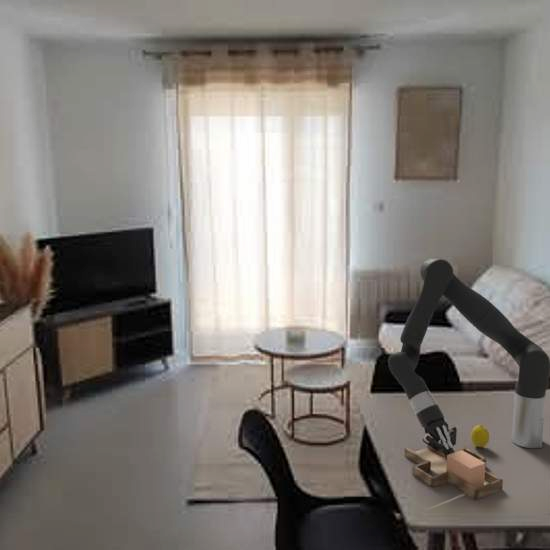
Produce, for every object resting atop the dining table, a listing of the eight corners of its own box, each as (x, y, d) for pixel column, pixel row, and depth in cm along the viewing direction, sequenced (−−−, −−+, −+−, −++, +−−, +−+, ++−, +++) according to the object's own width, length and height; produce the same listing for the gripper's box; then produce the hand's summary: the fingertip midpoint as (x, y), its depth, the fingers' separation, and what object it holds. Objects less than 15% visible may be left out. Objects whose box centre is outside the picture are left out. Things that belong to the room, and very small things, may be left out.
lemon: (479, 453, 191) (481, 430, 189) (467, 446, 196) (468, 423, 194) (492, 449, 193) (493, 426, 192) (479, 442, 198) (480, 420, 197)
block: (446, 476, 176) (447, 455, 175) (460, 471, 179) (461, 450, 178) (469, 491, 169) (470, 468, 167) (484, 485, 172) (485, 463, 170)
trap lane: (390, 461, 187) (390, 452, 186) (441, 443, 198) (442, 435, 197) (461, 506, 162) (462, 496, 161) (515, 483, 173) (516, 474, 172)
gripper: (416, 408, 180) (445, 463, 172) (448, 399, 186) (477, 451, 178) (404, 418, 186) (431, 471, 178) (435, 409, 192) (462, 460, 184)
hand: (454, 461), depth 178 cm, fingers closed
